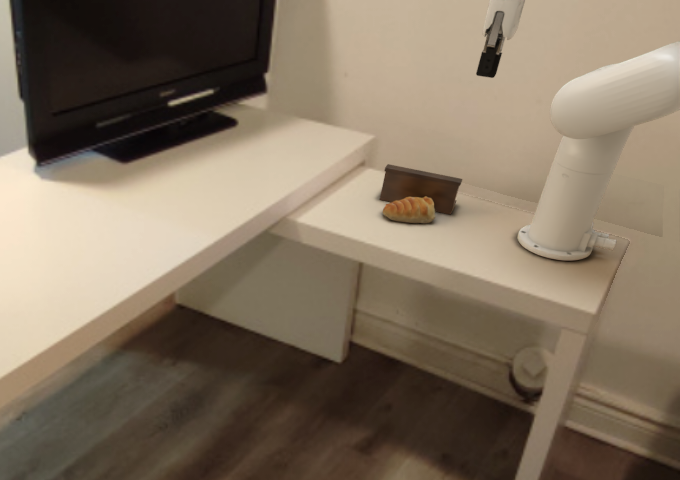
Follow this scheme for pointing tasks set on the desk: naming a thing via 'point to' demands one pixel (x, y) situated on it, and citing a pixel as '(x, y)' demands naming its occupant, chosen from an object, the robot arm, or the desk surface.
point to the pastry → (411, 210)
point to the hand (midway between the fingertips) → (485, 75)
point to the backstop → (420, 187)
